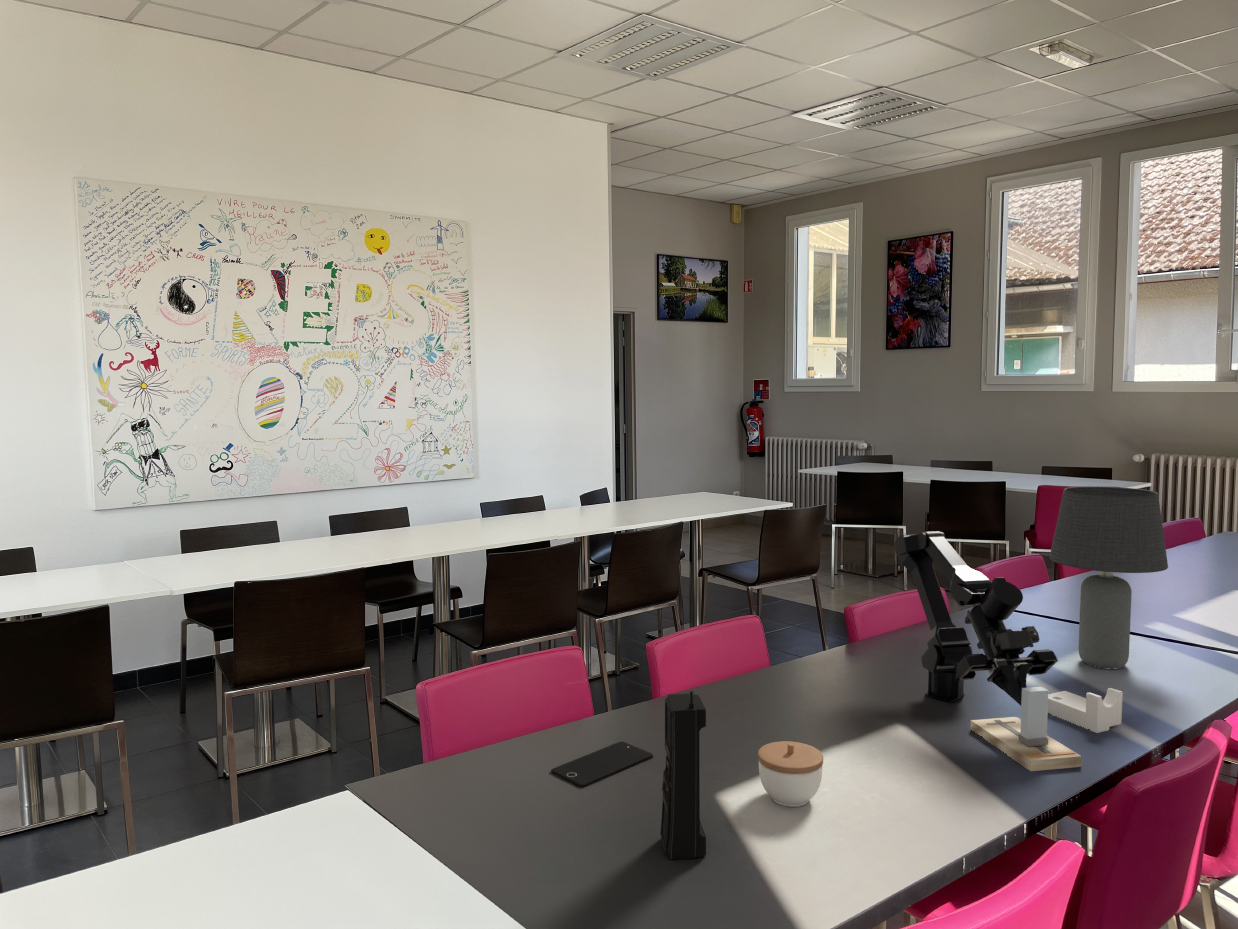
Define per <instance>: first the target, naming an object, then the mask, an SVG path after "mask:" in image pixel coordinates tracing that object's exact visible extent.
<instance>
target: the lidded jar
mask: <svg viewBox="0 0 1238 929" xmlns="http://www.w3.org/2000/svg"><path fill="white" fill-rule="evenodd" d="M757 760H758V771H759V779H760V782H761V785H762V787H763V789H764V790H765V791H766V793H767V795H768V796H769V797H771V800H772V801H773V802H775V803H776V804H778V805H780V806H783V807H789V808H798V807H802V806H806V805H807V804H808V803H809V801H810V800H811V799H813V797H815V795H816V794H817V792H818V791H819V788H820V786H821V783H822V778H823V764H824V755H823V753H822V752H821V751H820V750H819V749H818V748H817V747H814V746H812V745H810V744H806V743H803V742H798V741H790V740H789V741H788V740H782V741H774V742H769V743H766V744H764V745H762V746H761V747H760V748H759V750H758V752H757Z"/></svg>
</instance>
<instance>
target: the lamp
mask: <svg viewBox="0 0 1238 929" xmlns="http://www.w3.org/2000/svg"><path fill="white" fill-rule="evenodd" d="M1062 491H1063V492H1062V497H1061V501H1060V506H1059V511H1058V514H1057V515H1058V516H1057V520H1056V526H1055V530H1054V534H1053V539H1052V544H1051V548H1050V553H1049V559H1050V561H1051V562H1053V563H1055V564H1058V565H1061V566H1062V565H1063V566H1065V567H1070V568H1075V569H1080V570H1087V571H1088V570H1089V571H1096V572H1099V574H1093V575H1088V576H1087V577H1086V578H1084V579H1083V581H1081V586H1080V596H1079V597H1080V601H1079V622H1078V623H1079V625H1078V627H1079V629H1078V654H1079V658H1080V659H1081V660H1082V661H1083V663H1085V664H1086V663H1087V664H1086V665H1088V664H1089V665H1088V666H1090V665H1092V666H1091V667H1093V666H1096V667H1095V668H1097V667H1100V668H1099V669H1103V668H1110V669H1109V670H1115V669H1114V668H1118V669H1120V668H1123V667H1124V666H1125V665H1126V664H1127V663H1128V661H1129V657H1130V638H1131V616H1132V615H1131V614H1132V613H1131V612H1132V595H1133V593H1132V588H1131V584H1130V583H1129V582H1128V581H1127V580H1125V579H1123V578H1122V577H1119V576H1115V575H1114V573H1119V574H1120V573H1121V574H1122V573H1124V574H1144V573H1146V574H1149V573H1157V572H1163V571H1166V570H1167V569H1168V568H1169V564H1168V558H1167V556H1168V555H1167V549H1166V543H1165V542H1166V540H1165V535H1164V533H1165V532H1164V528H1163V521H1162V512H1161V505H1160V498H1159V497H1160V496H1159V492H1157V491H1154V490H1149V489H1143V488H1142V489H1141V488H1134V487H1119V486H1118V487H1117V486H1098V485H1097V486H1096V485H1095V486H1090V485H1089V486H1087V485H1086V486H1070V487H1066V488H1063V490H1062Z"/></svg>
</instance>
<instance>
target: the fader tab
mask: <svg viewBox="0 0 1238 929" xmlns="http://www.w3.org/2000/svg"><path fill="white" fill-rule="evenodd" d="M1048 694H1049V690H1048V689H1046V688H1044V687H1043V686H1031V687H1027V688H1022V701H1021V706H1020V707H1021V708H1020V719H1021V732H1020V734H1019V741H1021V742H1022V743H1024V744H1026V745H1027V746H1040V745H1048V738H1047V736H1048V715H1049V714H1048Z"/></svg>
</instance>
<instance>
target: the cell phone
mask: <svg viewBox="0 0 1238 929" xmlns="http://www.w3.org/2000/svg"><path fill="white" fill-rule="evenodd" d="M653 758H654V754H653V753H652V752H650V751H647V750H644V749H642V748H640V747H637V746H635V745H633V744H630V743H628V742H626V741H618V742H616V743H613V744H610V745H608V746H606V747H604V748H601V749H598V750H596V751H594V752H590V753H588V754H586V755H583V756H581V757H578V758H576V759H573V760H571V761H568V762H565V763H563V764H561V765H558V766H556V767H553V768H552V769H551V770H550V773H551V774H552V775H555V776H556V777H558V778H560V779H562V780H565V781H567V782H569V783H570V784H573V785H574V786H577V787H579V788H580V789H584V788H588V787H589V786H592V785H593V784H596V783H598V782H600V781H603V780H606V779H607V778H610V777H612V776H615V775H616V774H618V773H622V772H623V771H625V770H628V769H630V768H633V767H635V766H637V765H640V764H641V763H644V762H647V761H649V760H651V759H653Z"/></svg>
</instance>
